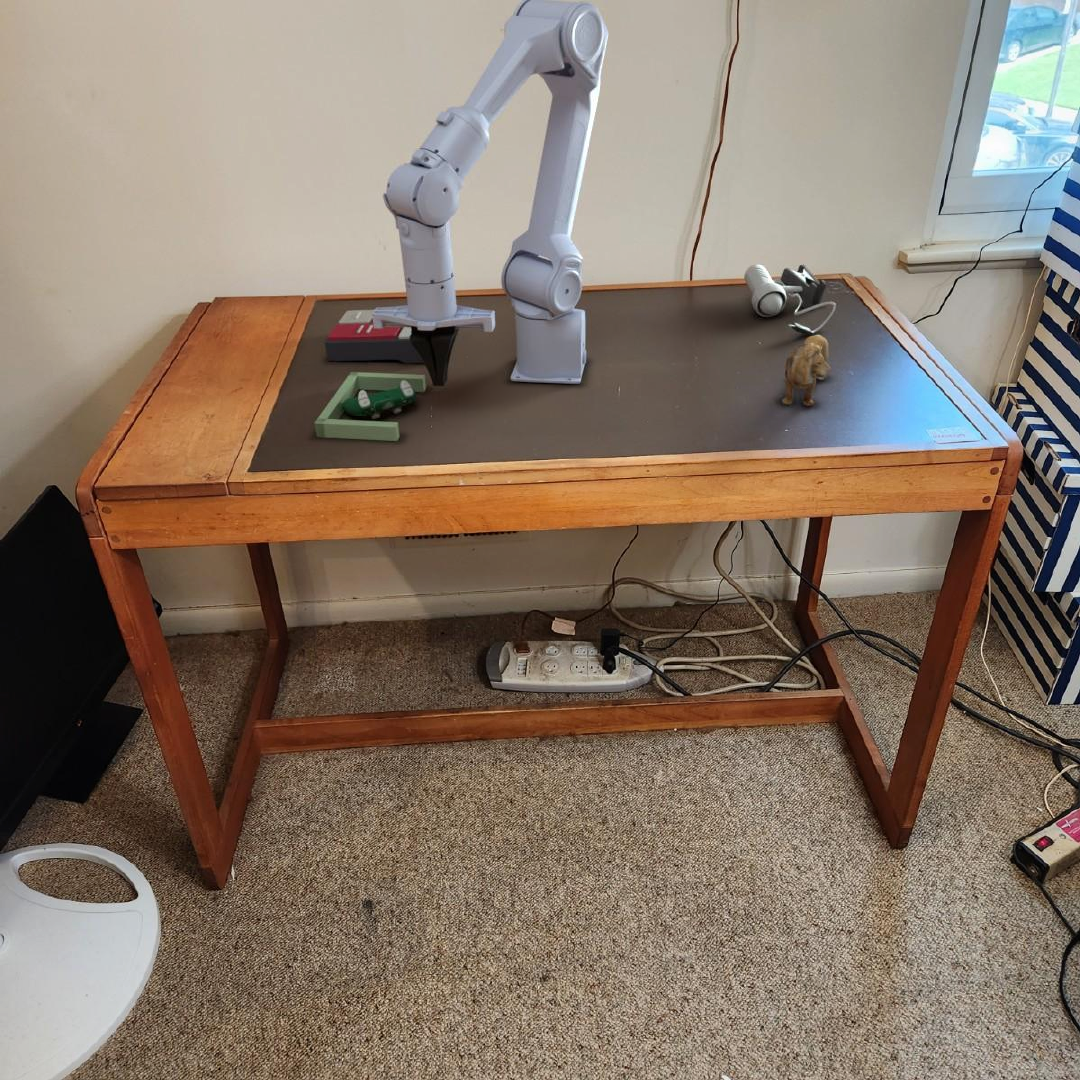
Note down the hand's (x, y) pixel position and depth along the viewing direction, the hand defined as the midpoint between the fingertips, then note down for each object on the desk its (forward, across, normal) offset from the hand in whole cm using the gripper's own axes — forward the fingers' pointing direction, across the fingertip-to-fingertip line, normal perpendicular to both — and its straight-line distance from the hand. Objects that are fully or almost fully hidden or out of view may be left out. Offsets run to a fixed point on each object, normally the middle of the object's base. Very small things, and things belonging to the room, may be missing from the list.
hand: (440, 382), depth 111 cm
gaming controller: (+5, -8, 0) cm, 9 cm away
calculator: (+5, -13, +20) cm, 24 cm away
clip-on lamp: (+5, +46, +37) cm, 59 cm away
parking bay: (+4, -9, 0) cm, 10 cm away
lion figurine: (+5, +46, +10) cm, 47 cm away
